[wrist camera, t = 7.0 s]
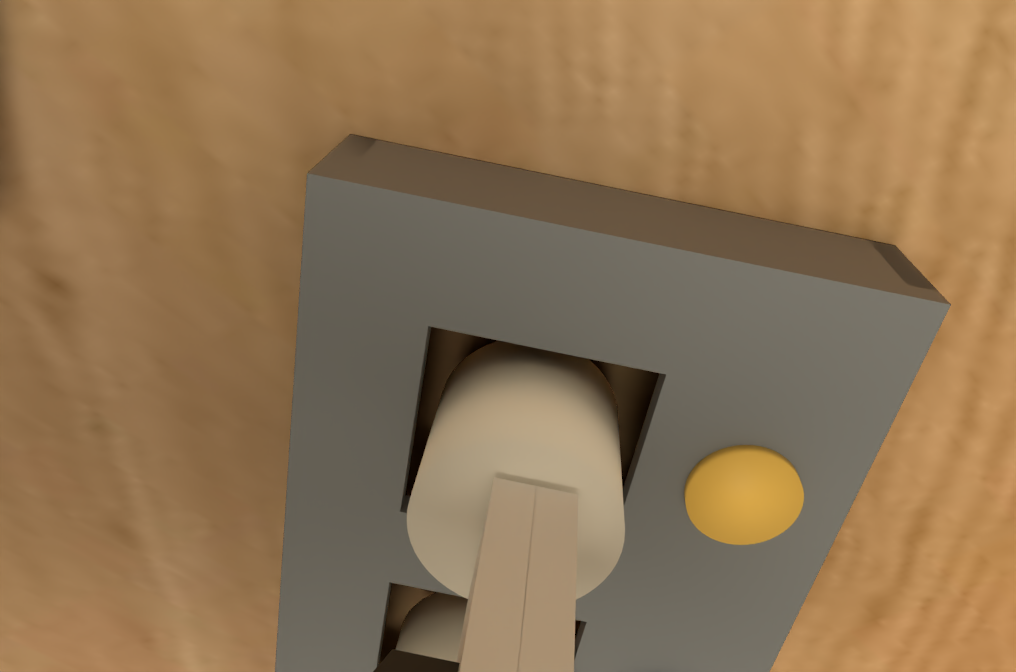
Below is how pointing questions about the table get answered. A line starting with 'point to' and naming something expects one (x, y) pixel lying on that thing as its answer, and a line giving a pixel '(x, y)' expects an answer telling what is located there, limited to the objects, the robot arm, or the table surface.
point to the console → (603, 337)
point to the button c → (519, 457)
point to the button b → (434, 627)
